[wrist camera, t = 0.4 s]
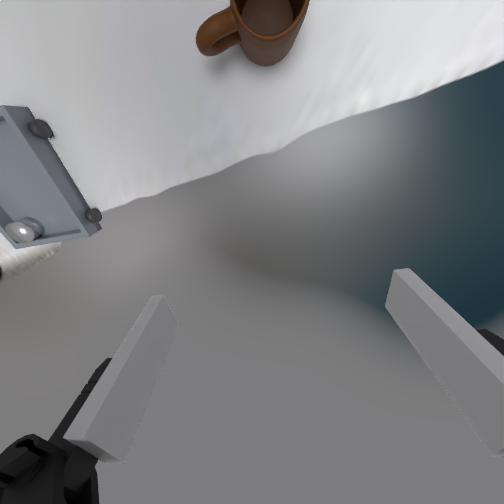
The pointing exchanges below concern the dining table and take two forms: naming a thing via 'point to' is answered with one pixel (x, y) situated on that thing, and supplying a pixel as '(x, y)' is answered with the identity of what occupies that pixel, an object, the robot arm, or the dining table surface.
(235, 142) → the dining table surface
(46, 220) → the cart
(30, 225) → the metal part
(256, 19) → the mug
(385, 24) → the dining table surface
